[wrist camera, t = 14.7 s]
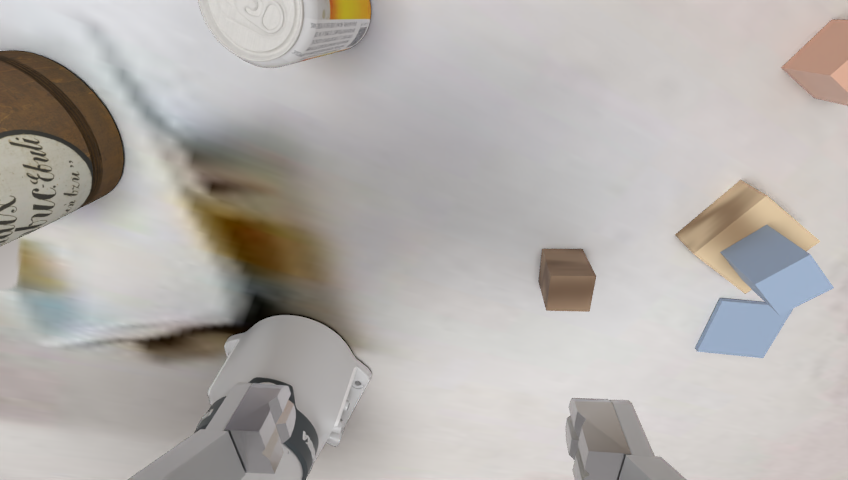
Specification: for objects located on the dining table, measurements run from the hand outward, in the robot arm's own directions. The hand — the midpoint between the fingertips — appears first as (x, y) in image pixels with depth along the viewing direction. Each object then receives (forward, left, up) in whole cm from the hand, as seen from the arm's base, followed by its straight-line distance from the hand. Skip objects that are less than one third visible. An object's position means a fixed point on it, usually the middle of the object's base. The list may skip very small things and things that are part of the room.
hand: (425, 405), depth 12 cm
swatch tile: (-12, -35, -29) cm, 47 cm away
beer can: (+8, +12, -29) cm, 33 cm away
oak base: (-2, -28, -30) cm, 40 cm away
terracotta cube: (+13, -26, -29) cm, 41 cm away
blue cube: (-2, -28, -26) cm, 38 cm away
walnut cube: (-10, -14, -29) cm, 34 cm away
